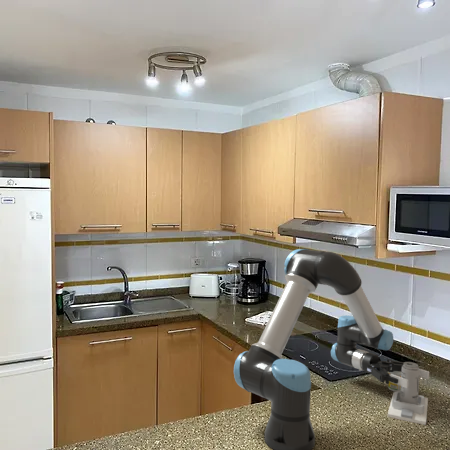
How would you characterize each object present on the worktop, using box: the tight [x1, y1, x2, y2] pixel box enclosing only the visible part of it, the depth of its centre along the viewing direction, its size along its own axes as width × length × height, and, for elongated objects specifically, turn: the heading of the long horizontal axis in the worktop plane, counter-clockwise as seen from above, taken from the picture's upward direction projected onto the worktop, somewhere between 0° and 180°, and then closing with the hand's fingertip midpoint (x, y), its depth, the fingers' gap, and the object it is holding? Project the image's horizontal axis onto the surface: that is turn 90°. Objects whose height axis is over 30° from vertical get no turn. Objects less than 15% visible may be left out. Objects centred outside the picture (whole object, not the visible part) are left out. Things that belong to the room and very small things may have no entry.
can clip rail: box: [387, 391, 429, 426], centre depth 158 cm, size 21×12×4 cm, turn 154°
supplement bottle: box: [387, 371, 401, 392], centre depth 175 cm, size 5×5×10 cm
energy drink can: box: [400, 361, 421, 405], centre depth 158 cm, size 6×6×15 cm
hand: (418, 379), depth 155 cm, fingers open, 13 cm apart
